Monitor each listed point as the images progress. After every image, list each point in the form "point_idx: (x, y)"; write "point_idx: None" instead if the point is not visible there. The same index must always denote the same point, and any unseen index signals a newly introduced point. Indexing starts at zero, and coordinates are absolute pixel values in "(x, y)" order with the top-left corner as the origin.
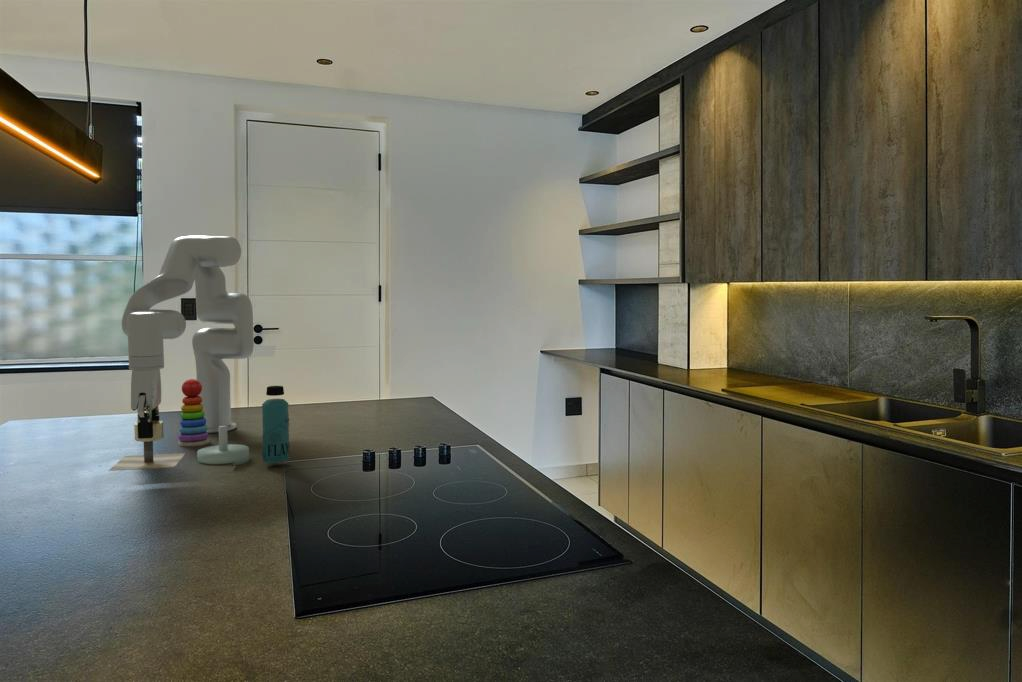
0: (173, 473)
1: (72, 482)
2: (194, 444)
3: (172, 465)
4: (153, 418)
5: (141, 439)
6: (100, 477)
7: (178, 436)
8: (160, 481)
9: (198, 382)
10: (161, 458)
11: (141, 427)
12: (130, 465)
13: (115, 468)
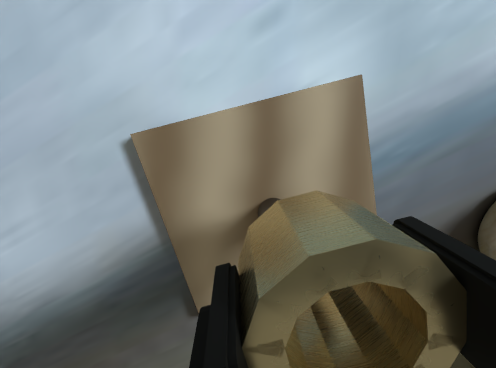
0: (180, 318)
1: (15, 51)
2: (490, 255)
3: None
4: (480, 343)
5: (239, 262)
6: (102, 123)
7: None
8: (92, 326)
9: None
10: None
11: (193, 361)
12: (214, 177)
13: (166, 144)
